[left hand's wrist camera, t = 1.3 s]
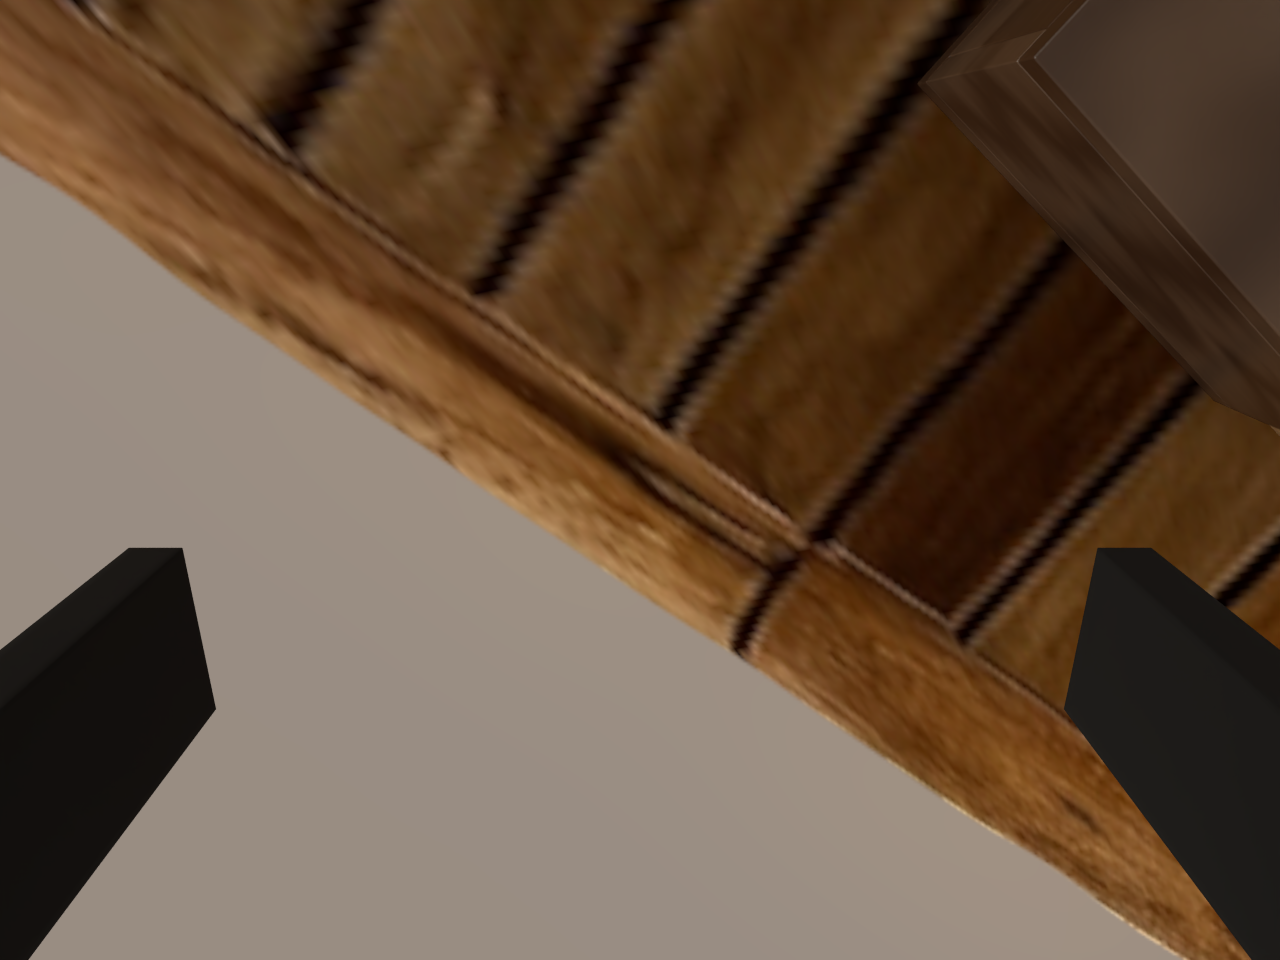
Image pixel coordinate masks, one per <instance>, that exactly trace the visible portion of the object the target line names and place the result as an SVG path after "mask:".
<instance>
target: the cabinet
mask: <svg viewBox="0 0 1280 960" xmlns="http://www.w3.org/2000/svg"><path fill="white" fill-rule="evenodd" d="M918 86H919V87H920V88H921V89H922V90H923V91H924V92H925V93H926V94H927V95H928V96H929V97H930V98H931V100H932V101H933V102H934V103H935V104H936V105H937V106H938V107H939V108H940V109H941V110H942V111H943V112H944V113H945V114H946V116H947V117H948V118H949V119H950V120H951V121H952V122H953V123H954V124H955V125H956V126H957V127H958V128H959V129H960V130H961V132H962V133H963V134H964V135H965V136H966V137H967V138H968V139H969V140H970V141H971V142H972V143H973V144H974V145H975V146H976V148H977V149H978V150H979V151H980V152H981V153H982V154H983V155H984V156H985V157H986V158H987V159H988V160H989V161H990V162H991V163H992V165H993V166H994V167H995V168H996V169H997V170H998V171H999V172H1000V173H1001V174H1002V175H1003V176H1004V177H1005V178H1006V179H1007V181H1008V182H1009V183H1010V184H1011V185H1012V186H1013V187H1014V188H1015V189H1016V190H1017V191H1018V192H1019V193H1020V194H1021V195H1022V197H1023V198H1024V199H1025V200H1026V201H1027V202H1028V203H1029V204H1030V205H1031V206H1032V207H1033V208H1034V209H1035V210H1036V211H1037V213H1038V214H1039V215H1040V216H1041V217H1042V218H1043V219H1044V220H1045V221H1046V222H1047V223H1048V224H1049V225H1050V226H1051V227H1052V229H1053V230H1054V231H1055V232H1056V233H1057V234H1058V235H1059V236H1060V237H1061V238H1062V239H1063V240H1064V241H1065V242H1066V243H1067V245H1068V246H1069V247H1070V248H1071V249H1072V250H1073V251H1074V252H1075V253H1076V254H1077V255H1078V256H1079V257H1080V258H1081V259H1082V261H1083V262H1084V263H1085V264H1086V265H1087V266H1088V267H1089V268H1090V269H1091V270H1092V271H1093V272H1094V273H1095V274H1096V275H1097V277H1098V278H1099V279H1100V280H1101V281H1102V282H1103V283H1104V284H1105V285H1106V286H1107V287H1108V288H1109V289H1110V290H1111V291H1112V293H1113V294H1114V295H1115V296H1116V297H1117V298H1118V299H1119V300H1120V301H1121V302H1122V303H1123V304H1124V305H1125V306H1126V307H1127V308H1128V310H1129V311H1130V312H1131V313H1132V314H1133V315H1134V316H1135V317H1136V318H1137V319H1138V320H1139V321H1140V322H1141V323H1142V324H1143V326H1144V327H1145V328H1146V329H1147V330H1148V331H1149V332H1150V333H1151V334H1152V335H1153V336H1154V337H1155V338H1156V339H1157V340H1158V342H1159V343H1160V344H1161V345H1162V346H1163V347H1164V348H1165V349H1166V350H1167V351H1168V352H1169V353H1170V354H1171V355H1172V356H1173V358H1174V359H1175V360H1176V361H1177V362H1178V363H1179V364H1180V365H1181V366H1182V367H1183V368H1184V369H1185V370H1186V371H1187V372H1188V374H1189V375H1190V376H1191V377H1192V378H1193V379H1194V380H1195V381H1196V382H1197V383H1198V384H1199V385H1200V386H1201V387H1202V388H1203V390H1204V391H1205V392H1206V393H1207V394H1208V395H1209V396H1210V397H1211V398H1212V399H1213V400H1214V401H1216V402H1218V403H1220V404H1223V405H1225V406H1227V407H1230V408H1231V409H1234V410H1236V411H1238V412H1241V413H1243V414H1245V415H1248V416H1250V417H1252V418H1254V419H1257V420H1259V421H1261V422H1264V423H1266V424H1268V425H1270V426H1273V427H1275V428H1277V429H1280V0H992V1H991V2H990V3H989V4H988V6H987V7H986V8H985V9H984V10H983V11H982V12H981V13H980V14H979V16H978V17H977V18H976V19H975V20H974V21H973V22H972V23H971V24H970V26H969V27H968V28H967V29H966V30H965V31H964V32H963V33H962V34H961V35H960V37H959V38H958V39H957V40H956V41H955V42H954V43H953V44H952V45H951V47H950V48H949V49H948V50H947V51H946V52H945V53H944V54H943V55H942V57H941V58H940V59H939V60H938V61H937V62H936V63H935V64H934V65H933V67H932V68H931V69H930V70H929V71H928V72H927V73H926V74H925V75H924V77H923V78H922V79H921V80H920V81H919V82H918Z"/></svg>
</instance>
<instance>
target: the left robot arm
mask: <svg viewBox="0 0 1280 960" xmlns="http://www.w3.org/2000/svg"><path fill="white" fill-rule="evenodd" d="M215 710H216V707H215V702H214V697H213V693H212V688H211V683H210V678H209V673H208V668H207V664H206V659H205V654H204V649H203V645H202V640H201V635H200V630H199V626H198V621H197V616H196V611H195V606H194V601H193V597H192V592H191V587H190V582H189V577H188V573H187V568H186V563H185V558H184V553H183V549H182V548H128V549H127V550H126V551H124V552H123V553H122V554H121V555H119V556H118V557H117V558H116V559H114V560H113V561H112V562H111V563H109V564H108V565H107V566H105V567H104V568H103V569H102V570H100V571H99V572H98V573H97V574H95V575H94V576H93V577H92V578H90V579H89V580H88V581H87V582H85V583H84V584H83V585H82V586H80V587H79V588H78V589H76V590H75V591H74V592H73V593H72V594H70V595H69V596H68V597H66V598H65V599H64V600H63V601H61V602H60V603H59V604H58V605H56V606H55V607H54V608H53V609H51V610H50V611H49V612H48V613H46V614H45V615H44V616H43V617H41V618H40V619H39V620H38V621H36V622H35V623H34V624H32V625H31V626H30V627H29V628H27V629H26V630H25V631H24V632H22V633H21V634H20V635H19V636H17V637H16V638H15V639H13V640H12V641H11V642H10V643H8V644H7V645H6V646H5V647H3V648H2V649H1V650H0V960H29V958H30V957H31V956H32V954H33V953H34V952H35V950H36V949H37V947H38V946H39V945H40V944H41V942H42V941H43V939H44V938H45V937H46V935H47V934H48V933H49V931H50V930H51V929H52V927H53V926H54V925H55V923H56V922H57V921H58V919H59V918H60V917H61V915H62V914H63V913H64V911H65V910H66V909H67V907H68V906H69V905H70V903H71V902H72V901H73V899H74V898H75V897H76V895H77V894H78V893H79V891H80V890H81V889H82V887H83V886H84V885H85V883H86V882H87V881H88V879H89V878H90V877H91V875H92V874H93V873H94V871H95V870H96V869H97V867H98V866H99V865H100V863H101V862H102V861H103V859H104V858H105V857H106V855H107V854H108V853H109V851H110V850H111V849H112V847H113V846H114V845H115V843H116V842H117V841H118V839H119V838H120V837H121V835H122V834H123V833H124V831H125V830H126V829H127V827H128V826H129V825H130V823H131V822H132V821H133V819H134V818H135V817H136V815H137V814H138V813H139V811H140V810H141V808H142V807H143V806H144V805H145V803H146V802H147V801H148V799H149V798H150V797H151V795H152V794H153V793H154V791H155V790H156V789H157V787H158V786H159V784H160V783H161V782H162V780H163V779H164V778H165V777H166V775H167V774H168V773H169V771H170V770H171V768H172V767H173V766H174V764H175V763H176V762H177V760H178V759H179V758H180V756H181V755H182V754H183V752H184V751H185V750H186V748H187V747H188V746H189V744H190V743H191V742H192V740H193V739H194V738H195V736H196V735H197V734H198V732H199V731H200V730H201V728H202V727H203V726H204V724H205V723H206V722H207V720H208V719H209V718H210V716H211V715H212V714H213V712H214V711H215ZM1064 710H1065V711H1066V712H1067V714H1068V715H1069V716H1070V718H1071V719H1072V720H1073V722H1074V723H1075V724H1076V726H1077V727H1078V728H1079V730H1080V731H1081V732H1082V734H1083V735H1084V736H1085V738H1086V739H1087V740H1088V742H1089V743H1090V744H1091V746H1092V747H1093V748H1094V750H1095V751H1096V752H1097V754H1098V755H1099V756H1100V758H1101V759H1102V760H1103V762H1104V763H1105V764H1106V766H1107V767H1108V768H1109V770H1110V771H1111V773H1112V774H1113V775H1114V777H1115V778H1116V779H1117V781H1118V782H1119V783H1120V785H1121V786H1122V787H1123V789H1124V790H1125V791H1126V793H1127V794H1128V795H1129V797H1130V798H1131V799H1132V801H1133V802H1134V803H1135V805H1136V806H1137V807H1138V809H1139V810H1140V811H1141V813H1142V814H1143V815H1144V817H1145V818H1146V819H1147V821H1148V822H1149V823H1150V825H1151V826H1152V827H1153V829H1154V830H1155V831H1156V833H1157V834H1158V835H1159V837H1160V838H1161V839H1162V841H1163V842H1164V843H1165V845H1166V846H1167V847H1168V849H1169V850H1170V851H1171V853H1172V854H1173V855H1174V857H1175V858H1176V859H1177V861H1178V862H1179V863H1180V865H1181V866H1182V867H1183V869H1184V870H1185V871H1186V873H1187V874H1188V875H1189V877H1190V878H1191V879H1192V881H1193V882H1194V883H1195V885H1196V886H1197V887H1198V889H1199V890H1200V891H1201V893H1202V894H1203V895H1204V897H1205V898H1206V899H1207V901H1208V902H1209V903H1210V905H1211V906H1212V907H1213V909H1214V910H1215V911H1216V913H1217V914H1218V915H1219V917H1220V918H1221V919H1222V921H1223V922H1224V923H1225V925H1226V926H1227V927H1228V929H1229V930H1230V931H1231V933H1232V934H1233V936H1234V937H1235V938H1236V940H1237V941H1238V942H1239V944H1240V945H1241V946H1242V948H1243V949H1244V950H1245V952H1246V953H1247V954H1248V956H1249V957H1250V958H1251V960H1280V650H1279V649H1278V648H1277V647H1275V646H1274V645H1273V644H1272V643H1270V642H1269V641H1268V640H1267V639H1265V638H1264V637H1263V636H1262V635H1260V634H1259V633H1258V632H1256V631H1255V630H1254V629H1253V628H1251V627H1250V626H1249V625H1248V624H1246V623H1245V622H1244V621H1243V620H1241V619H1240V618H1239V617H1238V616H1236V615H1235V614H1234V613H1233V612H1231V611H1230V610H1229V609H1227V608H1226V607H1225V606H1224V605H1222V604H1221V603H1220V602H1219V601H1217V600H1216V599H1215V598H1214V597H1212V596H1211V595H1210V594H1209V593H1207V592H1206V591H1205V590H1204V589H1202V588H1201V587H1200V586H1198V585H1197V584H1196V583H1195V582H1193V581H1192V580H1191V579H1190V578H1188V577H1187V576H1186V575H1185V574H1183V573H1182V572H1181V571H1180V570H1178V569H1177V568H1176V567H1175V566H1173V565H1172V564H1171V563H1169V562H1168V561H1167V560H1166V559H1164V558H1163V557H1162V556H1161V555H1159V554H1158V553H1157V552H1156V551H1154V550H1153V549H1152V548H1098V549H1097V553H1096V558H1095V563H1094V568H1093V573H1092V577H1091V582H1090V587H1089V592H1088V597H1087V601H1086V606H1085V611H1084V616H1083V621H1082V625H1081V630H1080V635H1079V640H1078V645H1077V649H1076V654H1075V659H1074V664H1073V668H1072V673H1071V678H1070V683H1069V688H1068V692H1067V697H1066V702H1065V707H1064Z"/></svg>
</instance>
